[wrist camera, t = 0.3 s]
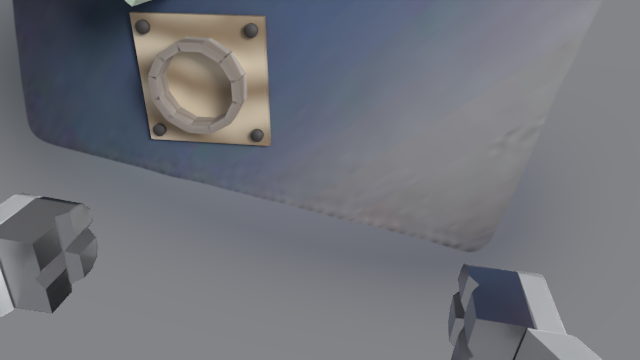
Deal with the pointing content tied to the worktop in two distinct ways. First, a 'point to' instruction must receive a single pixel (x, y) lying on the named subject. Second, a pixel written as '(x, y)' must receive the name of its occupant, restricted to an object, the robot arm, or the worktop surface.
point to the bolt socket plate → (204, 76)
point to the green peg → (135, 2)
